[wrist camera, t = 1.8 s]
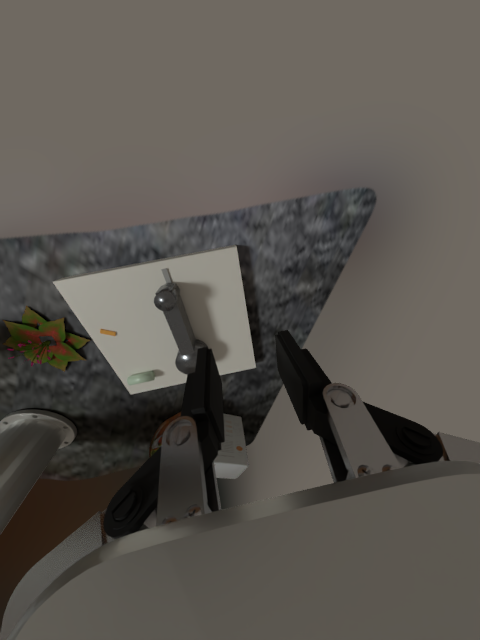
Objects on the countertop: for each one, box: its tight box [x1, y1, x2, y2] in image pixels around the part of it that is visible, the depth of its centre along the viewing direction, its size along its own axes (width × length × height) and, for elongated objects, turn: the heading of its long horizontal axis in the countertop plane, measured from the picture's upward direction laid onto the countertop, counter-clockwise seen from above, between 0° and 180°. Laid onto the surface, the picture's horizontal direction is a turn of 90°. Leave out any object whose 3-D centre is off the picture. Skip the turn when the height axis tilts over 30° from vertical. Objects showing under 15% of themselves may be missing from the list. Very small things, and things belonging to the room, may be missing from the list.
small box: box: [214, 414, 249, 479], centre depth 40 cm, size 8×6×10 cm
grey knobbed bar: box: [154, 283, 208, 375], centre depth 27 cm, size 15×5×4 cm, turn 9°
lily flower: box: [3, 306, 90, 372], centre depth 28 cm, size 12×12×5 cm
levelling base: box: [53, 245, 256, 394], centre depth 29 cm, size 24×22×4 cm
